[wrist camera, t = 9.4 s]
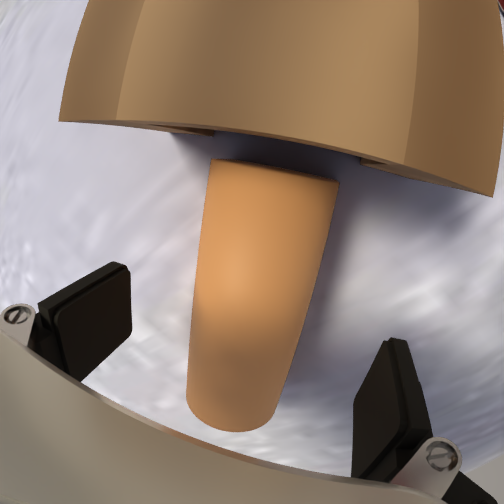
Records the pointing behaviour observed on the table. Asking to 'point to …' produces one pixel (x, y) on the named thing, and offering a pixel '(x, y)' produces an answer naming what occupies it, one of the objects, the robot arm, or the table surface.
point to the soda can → (501, 4)
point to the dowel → (253, 287)
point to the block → (305, 77)
